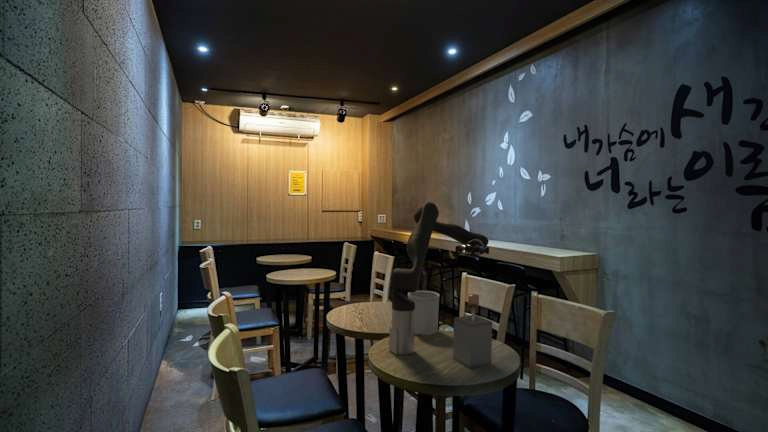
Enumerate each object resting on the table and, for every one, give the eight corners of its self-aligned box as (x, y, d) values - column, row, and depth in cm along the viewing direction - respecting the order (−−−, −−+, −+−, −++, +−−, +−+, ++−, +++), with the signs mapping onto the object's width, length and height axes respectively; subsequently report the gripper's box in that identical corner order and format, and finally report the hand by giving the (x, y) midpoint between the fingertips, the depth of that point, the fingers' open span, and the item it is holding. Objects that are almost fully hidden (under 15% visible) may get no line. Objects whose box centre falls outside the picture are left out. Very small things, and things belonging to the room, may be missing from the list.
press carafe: (469, 368, 150) (470, 324, 149) (453, 358, 159) (454, 317, 158) (491, 364, 154) (492, 321, 154) (473, 355, 163) (475, 314, 163)
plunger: (470, 361, 151) (472, 298, 151) (457, 354, 158) (459, 293, 158) (486, 358, 155) (488, 296, 154) (473, 351, 162) (475, 292, 161)
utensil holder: (437, 337, 185) (438, 298, 184) (404, 334, 188) (405, 296, 187) (439, 327, 199) (440, 291, 199) (409, 325, 202) (410, 289, 202)
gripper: (459, 238, 190) (453, 241, 175) (491, 240, 186) (488, 243, 171) (458, 255, 191) (453, 259, 175) (490, 256, 186) (487, 261, 171)
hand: (470, 251), depth 173 cm, fingers open, 8 cm apart
